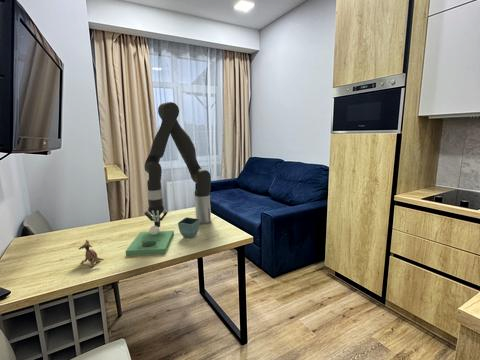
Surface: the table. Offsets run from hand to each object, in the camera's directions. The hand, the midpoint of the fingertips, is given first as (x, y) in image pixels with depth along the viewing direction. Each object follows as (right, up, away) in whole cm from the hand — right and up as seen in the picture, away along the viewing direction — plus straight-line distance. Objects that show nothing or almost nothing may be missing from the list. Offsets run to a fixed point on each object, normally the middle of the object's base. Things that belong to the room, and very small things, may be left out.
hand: (157, 227), depth 141 cm
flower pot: (+19, -4, -4) cm, 20 cm away
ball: (+1, 0, -8) cm, 8 cm away
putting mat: (+1, -6, -13) cm, 14 cm away
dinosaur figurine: (-19, -10, -30) cm, 37 cm away
